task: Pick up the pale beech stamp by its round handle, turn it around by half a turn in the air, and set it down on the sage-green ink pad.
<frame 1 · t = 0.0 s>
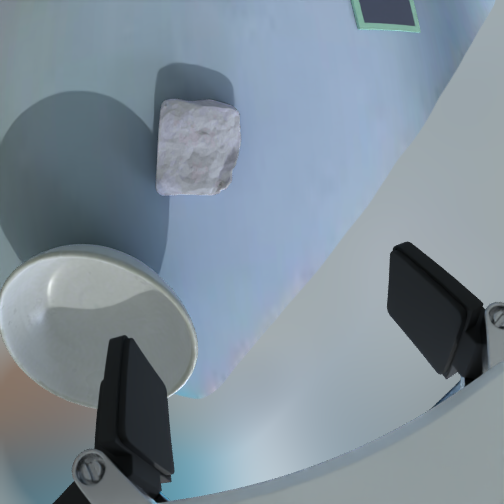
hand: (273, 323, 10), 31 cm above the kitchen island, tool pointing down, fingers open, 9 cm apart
decorative bowl: (104, 293, 43), on the kitchen island
stone block: (197, 145, 37), on the kitchen island
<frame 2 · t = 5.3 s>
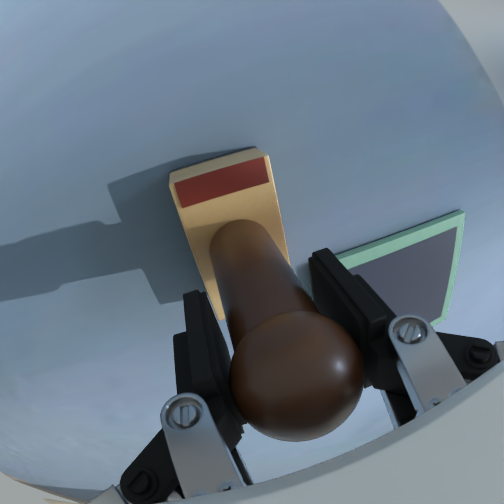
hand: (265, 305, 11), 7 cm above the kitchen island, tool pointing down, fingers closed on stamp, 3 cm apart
ink pad: (394, 297, 23), on the kitchen island
stamp: (244, 271, 19), on the kitchen island, touching gripper
when the fingers open (8 cm above the kitchen island, at t = 14.1 s): stamp stays where it is, resting on ink pad.
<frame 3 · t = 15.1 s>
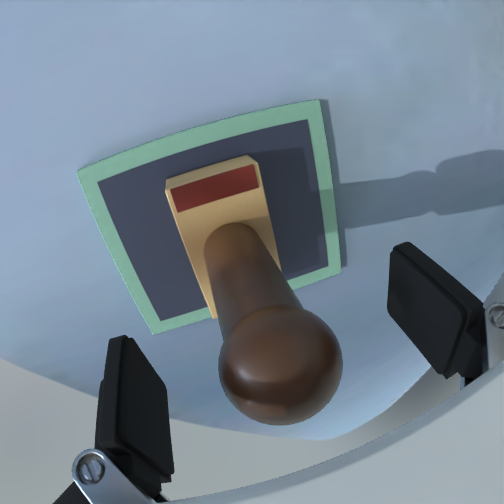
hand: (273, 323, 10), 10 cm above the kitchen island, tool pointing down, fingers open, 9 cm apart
ink pad: (223, 223, 19), on the kitchen island
stamp: (237, 271, 20), point 1 cm above the kitchen island, touching ink pad
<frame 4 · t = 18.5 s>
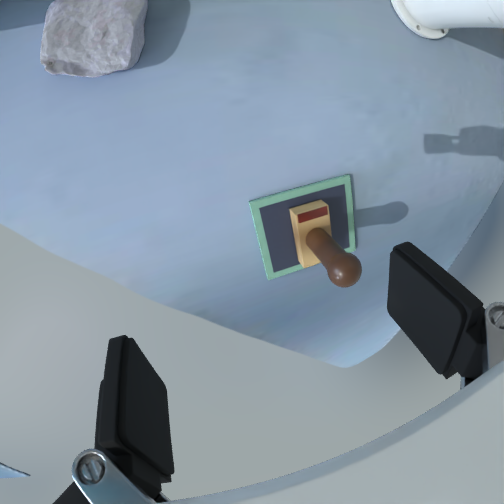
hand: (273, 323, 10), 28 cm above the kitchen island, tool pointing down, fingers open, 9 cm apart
stone block: (95, 38, 25), on the kitchen island
ink pad: (307, 227, 42), on the kitchen island
stamp: (311, 248, 43), point 1 cm above the kitchen island, touching ink pad
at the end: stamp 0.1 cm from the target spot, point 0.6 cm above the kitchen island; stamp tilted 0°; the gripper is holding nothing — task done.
